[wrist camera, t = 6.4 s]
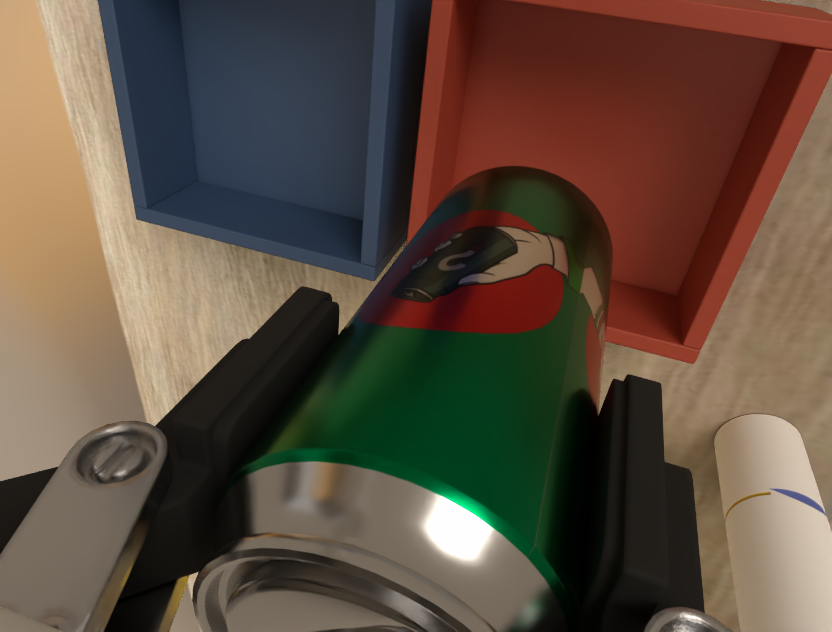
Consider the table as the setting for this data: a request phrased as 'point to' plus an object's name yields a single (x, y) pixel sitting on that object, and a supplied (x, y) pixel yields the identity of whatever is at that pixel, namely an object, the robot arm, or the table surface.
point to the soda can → (435, 436)
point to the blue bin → (273, 121)
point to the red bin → (630, 131)
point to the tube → (774, 527)
